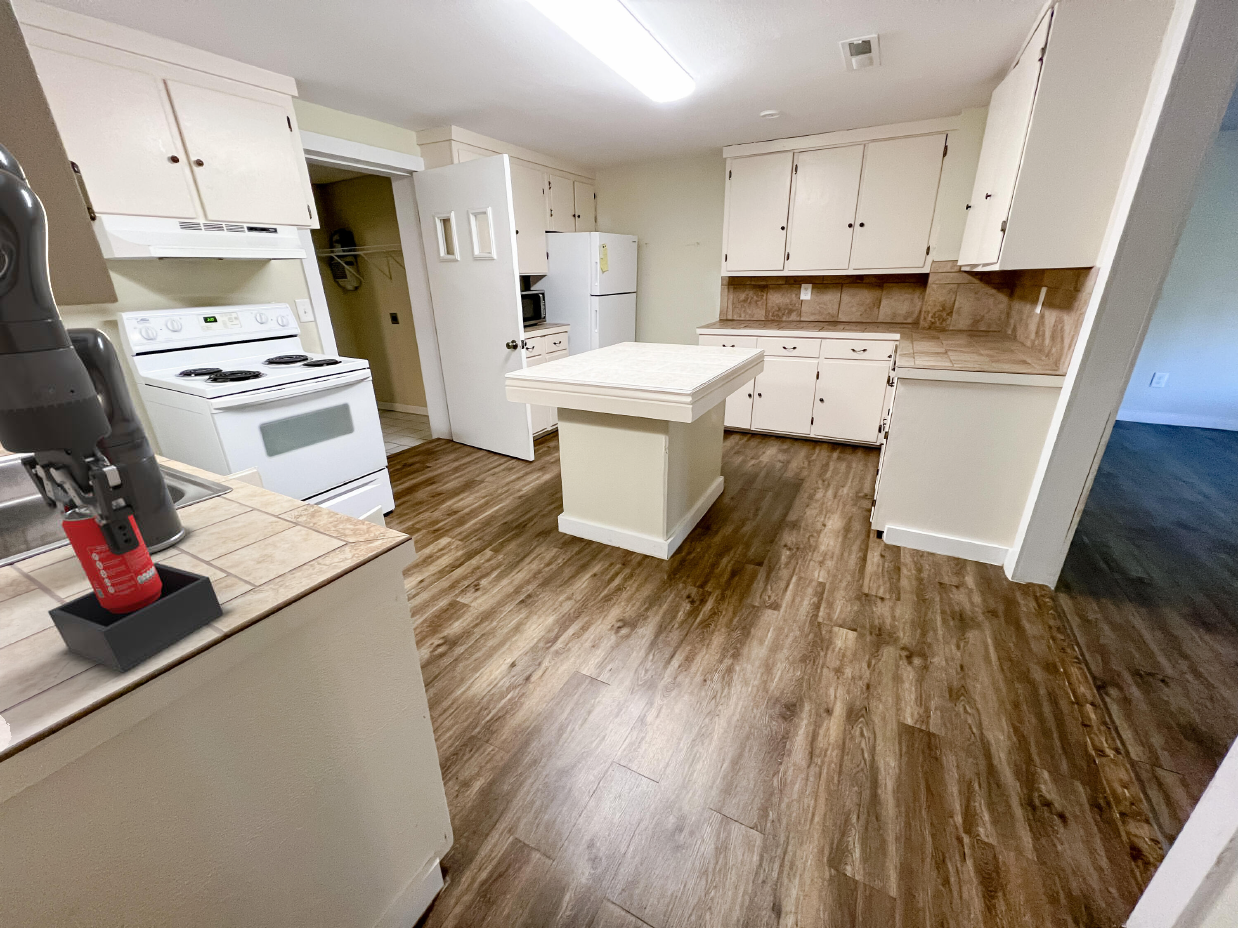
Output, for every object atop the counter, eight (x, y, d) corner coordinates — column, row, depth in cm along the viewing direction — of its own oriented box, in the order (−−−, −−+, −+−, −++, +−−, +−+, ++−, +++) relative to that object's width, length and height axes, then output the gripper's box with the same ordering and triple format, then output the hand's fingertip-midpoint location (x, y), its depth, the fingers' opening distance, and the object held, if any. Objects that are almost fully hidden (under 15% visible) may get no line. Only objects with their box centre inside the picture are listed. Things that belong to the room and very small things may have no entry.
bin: (69, 650, 55) (47, 611, 53) (171, 597, 64) (156, 562, 62) (123, 672, 52) (102, 631, 50) (223, 613, 61) (209, 576, 59)
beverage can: (128, 618, 54) (83, 522, 49) (92, 613, 55) (44, 518, 50) (176, 590, 58) (139, 500, 54) (142, 586, 59) (103, 497, 55)
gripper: (132, 392, 49) (190, 540, 55) (52, 385, 53) (114, 522, 59) (27, 411, 42) (106, 577, 48) (-54, 401, 47) (28, 553, 53)
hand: (110, 546), depth 54 cm, fingers closed on beverage can, 5 cm apart
